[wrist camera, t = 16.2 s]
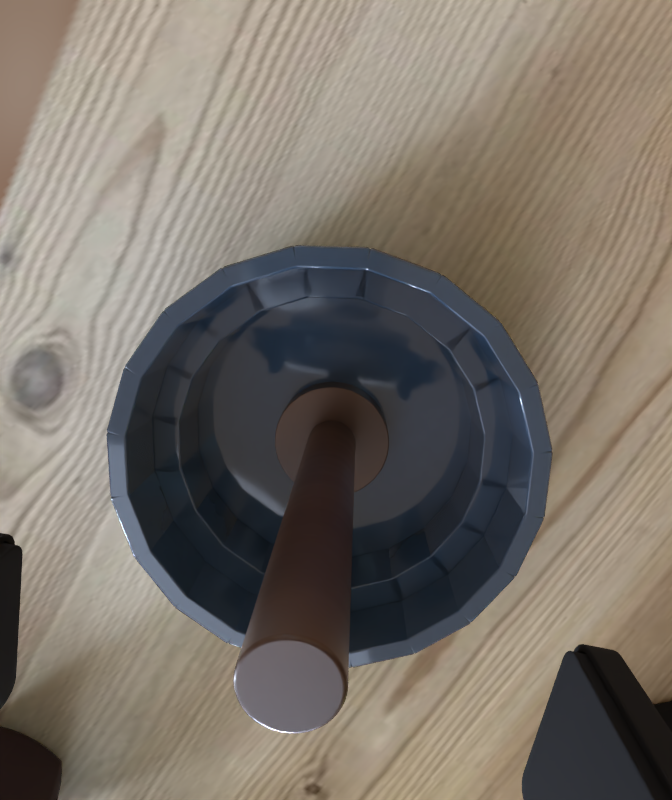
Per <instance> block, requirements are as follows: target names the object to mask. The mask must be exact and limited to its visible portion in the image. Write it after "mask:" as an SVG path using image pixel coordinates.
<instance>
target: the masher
mask: <svg viewBox="0 0 672 800" xmlns="http://www.w3.org/2000/svg"><path fill="white" fill-rule="evenodd" d="M275 449H276V454H277V457H278V460H279V462H280V465H281V467H282V468H283V470H284V471H285V473H286V474H287V475H288V477H289V478H290V479H291V480H292V481H293V482H294V484H293V487H292V490H291V494H290V497H289V500H288V503H287V506H286V509H285V512H284V516H283V519H282V522H281V525H280V528H279V531H278V534H277V538H276V541H275V544H274V547H273V550H272V553H271V556H270V560H269V563H268V566H267V569H266V572H265V575H264V578H263V582H262V585H261V588H260V591H259V594H258V597H257V600H256V604H255V607H254V610H253V613H252V616H251V619H250V622H249V626H248V629H247V632H246V635H245V638H244V641H243V644H242V648H241V651H240V654H239V657H238V660H237V663H236V667H235V671H234V678H233V680H234V688H235V693H236V696H237V699H238V701H239V703H240V705H241V707H242V708H243V709H244V711H245V712H246V713H247V714H248V715H249V716H250V717H251V718H252V719H253V720H254V721H256V722H257V723H259V724H260V725H262V726H264V727H266V728H269V729H271V730H274V731H278V732H283V733H304V732H309V731H312V730H315V729H317V728H320V727H322V726H323V725H325V724H327V723H328V722H329V721H330V720H332V719H333V718H334V717H335V716H336V715H337V713H338V712H339V710H340V709H341V707H342V706H343V704H344V702H345V699H346V696H347V691H348V669H349V637H350V604H351V572H352V539H353V507H354V492H356V491H358V490H360V489H362V488H364V487H365V486H367V485H368V484H369V483H370V482H372V481H373V480H374V479H375V478H376V476H377V475H378V474H379V472H380V471H381V469H382V468H383V466H384V463H385V461H386V458H387V455H388V449H389V436H388V429H387V424H386V420H385V417H384V415H383V413H382V411H381V409H380V407H379V406H378V404H377V403H376V402H375V401H374V400H373V399H372V398H371V397H370V396H369V395H368V394H367V393H365V392H364V391H363V390H361V389H359V388H357V387H355V386H352V385H350V384H346V383H341V382H324V383H319V384H315V385H312V386H310V387H308V388H306V389H304V390H302V391H301V392H300V393H298V394H297V395H296V396H295V397H294V398H293V399H292V400H291V401H290V402H289V404H288V405H287V406H286V408H285V410H284V412H283V414H282V415H281V417H280V419H279V422H278V424H277V428H276V432H275Z"/></svg>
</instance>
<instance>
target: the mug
mask: <svg viewBox="0 0 672 800" xmlns="http://www.w3.org/2000/svg"><path fill="white" fill-rule="evenodd" d="M61 775H62V768H61V760H60V759H59V758H57V757H56V756H55V755H54V754H53V753H52V752H51V751H49V750H48V749H47V748H46V747H44V746H43V745H41V744H40V743H38V742H37V741H35V740H33V739H31V738H30V737H28V736H25V735H23V734H21V733H19V732H16V731H13V730H10V729H7V728H3V727H0V800H57V798H58V794H59V790H60V785H61Z"/></svg>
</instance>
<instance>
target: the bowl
mask: <svg viewBox="0 0 672 800" xmlns="http://www.w3.org/2000/svg"><path fill="white" fill-rule="evenodd" d="M324 382H341V383H346V384H350V385H352V386H355V387H357V388H359V389H361V390H363V391H364V392H365V393H367V394H368V395H369V396H370V397H371V398H372V399H373V400H374V401H375V402H376V403H377V404H378V406H379V407H380V409H381V411H382V413H383V415H384V417H385V420H386V424H387V429H388V436H389V449H388V455H387V458H386V461H385V463H384V466H383V468H382V469H381V471H380V472H379V474H378V475H377V476H376V478H375V479H374V480H373V481H372V482H370V483H369V484H368V485H367V486H365V487H364V488H362V489H360V490H358V491H356V492H354V507H353V539H352V572H351V604H350V637H349V668H351V667H358V666H362V665H367V664H371V663H376V662H380V661H385V660H389V659H394V658H398V657H403V656H408V655H412V654H414V653H417V652H419V651H421V650H423V649H425V648H426V647H428V646H430V645H432V644H434V643H436V642H437V641H439V640H441V639H443V638H445V637H447V636H448V635H450V634H452V633H454V632H456V631H457V630H459V629H461V628H463V627H465V626H467V625H468V624H470V622H472V621H473V620H474V619H475V618H476V617H477V616H478V615H479V614H480V613H481V612H482V611H483V610H484V609H485V608H486V607H487V606H488V605H489V604H490V603H491V602H492V601H493V599H494V598H495V597H496V596H497V595H498V594H499V593H500V592H501V591H502V590H503V589H504V588H505V587H506V586H507V585H508V584H509V583H510V582H511V581H512V580H513V579H514V577H515V576H516V575H517V573H518V571H519V569H520V567H521V565H522V563H523V561H524V559H525V557H526V555H527V552H528V550H529V548H530V546H531V544H532V542H533V540H534V538H535V536H536V534H537V532H538V530H539V528H540V526H541V524H542V522H543V519H544V518H543V517H544V516H545V509H546V501H547V493H548V485H549V477H550V469H551V461H552V445H551V441H550V436H549V431H548V427H547V422H546V417H545V413H544V408H543V404H542V399H541V394H540V390H539V385H538V384H537V383H538V382H537V380H536V379H535V377H534V375H533V374H532V372H531V371H530V369H529V367H528V366H527V364H526V362H525V361H524V359H523V358H522V356H521V354H520V353H519V351H518V349H517V348H516V346H515V345H514V343H513V341H512V340H511V338H510V336H509V335H508V333H507V332H506V330H505V328H504V327H503V325H502V323H500V322H499V320H498V319H497V318H495V317H494V316H493V315H492V314H490V313H489V312H488V311H487V310H486V309H484V308H483V307H482V306H481V305H479V304H478V303H477V302H476V301H474V300H473V299H472V298H471V297H470V296H468V295H467V294H466V293H465V292H463V291H462V290H461V289H460V288H459V287H457V286H456V285H455V284H454V283H452V282H451V281H450V280H449V279H448V278H446V277H445V276H444V275H441V274H440V273H438V272H435V271H432V270H430V269H427V268H424V267H422V266H419V265H416V264H413V263H411V262H408V261H405V260H403V259H400V258H397V257H395V256H392V255H389V254H387V253H384V252H381V251H379V250H376V249H373V248H372V249H370V248H368V247H338V246H306V245H296V246H295V247H294V246H290V247H286V248H283V249H280V250H276V251H273V252H270V253H267V254H263V255H260V256H257V257H254V258H250V259H247V260H244V261H241V262H237V263H234V264H231V265H227V266H225V267H223V268H220V269H219V270H218V271H216V272H215V273H213V274H212V275H211V276H209V277H208V278H207V279H205V280H204V281H202V282H201V283H200V284H198V285H197V286H196V287H194V288H193V289H191V290H190V291H189V292H187V293H186V294H185V295H183V296H182V297H180V298H179V299H178V300H176V301H175V302H174V303H172V304H171V305H169V306H168V307H167V308H165V311H163V312H162V313H161V314H160V316H159V317H158V319H157V320H156V322H155V323H154V325H153V326H152V328H151V329H150V330H149V332H148V333H147V335H146V336H145V338H144V339H143V341H142V342H141V343H140V345H139V346H138V348H137V349H136V351H135V352H134V354H133V355H132V357H131V358H130V359H129V361H128V362H127V364H126V366H125V368H124V370H123V373H122V377H121V381H120V385H119V388H118V392H117V396H116V399H115V403H114V407H113V410H112V414H111V418H110V421H109V425H108V429H107V446H108V462H109V477H110V493H111V500H112V503H113V505H114V508H115V510H116V513H117V515H118V518H119V520H120V523H121V525H122V528H123V530H124V533H125V535H126V538H127V540H128V543H129V545H130V548H131V550H132V553H133V555H134V557H135V558H136V560H137V561H138V562H139V564H140V565H141V566H142V567H143V568H144V570H145V571H146V572H147V573H148V575H149V576H150V577H151V578H152V580H153V581H154V582H155V583H156V585H157V586H158V587H159V588H160V589H161V591H162V592H163V593H164V594H165V596H166V597H167V598H168V599H169V601H170V602H171V603H172V604H173V605H174V606H176V608H177V609H178V610H179V611H181V612H182V613H184V614H185V615H187V616H188V617H190V618H191V619H193V620H194V621H195V622H197V623H198V624H200V625H201V626H203V627H204V628H206V629H207V630H208V631H210V632H211V633H213V634H214V635H216V636H217V637H219V638H220V639H221V640H223V641H224V642H226V643H229V644H231V645H234V646H237V647H240V648H242V644H243V641H244V638H245V635H246V632H247V629H248V626H249V622H250V619H251V616H252V613H253V610H254V607H255V604H256V600H257V597H258V594H259V591H260V588H261V585H262V582H263V578H264V575H265V572H266V569H267V566H268V563H269V560H270V556H271V553H272V550H273V547H274V544H275V541H276V538H277V534H278V531H279V528H280V525H281V522H282V519H283V516H284V512H285V509H286V506H287V503H288V500H289V497H290V494H291V490H292V487H293V484H294V482H293V481H292V480H291V479H290V478H289V477H288V475H287V474H286V473H285V471H284V470H283V468H282V467H281V465H280V462H279V460H278V457H277V454H276V449H275V432H276V428H277V424H278V422H279V419H280V417H281V415H282V414H283V412H284V410H285V408H286V406H287V405H288V404H289V402H290V401H291V400H292V399H293V398H294V397H295V396H296V395H297V394H298V393H300V392H301V391H302V390H304V389H306V388H308V387H310V386H312V385H315V384H319V383H324Z"/></svg>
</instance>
